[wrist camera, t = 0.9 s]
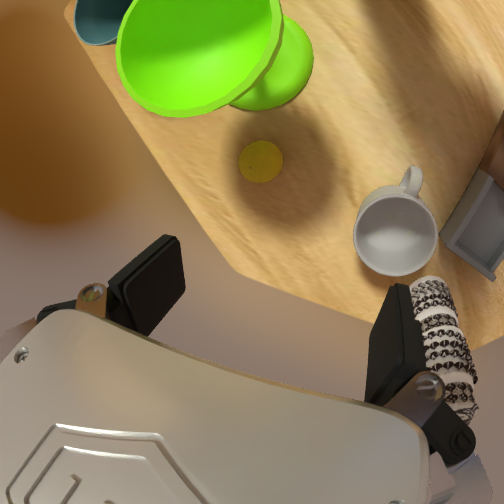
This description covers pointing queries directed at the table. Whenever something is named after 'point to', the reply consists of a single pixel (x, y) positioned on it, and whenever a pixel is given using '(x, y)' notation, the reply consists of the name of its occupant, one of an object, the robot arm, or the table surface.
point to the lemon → (260, 161)
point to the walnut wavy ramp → (495, 156)
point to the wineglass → (211, 55)
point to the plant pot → (99, 20)
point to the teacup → (396, 228)
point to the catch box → (478, 225)
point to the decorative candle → (445, 344)
